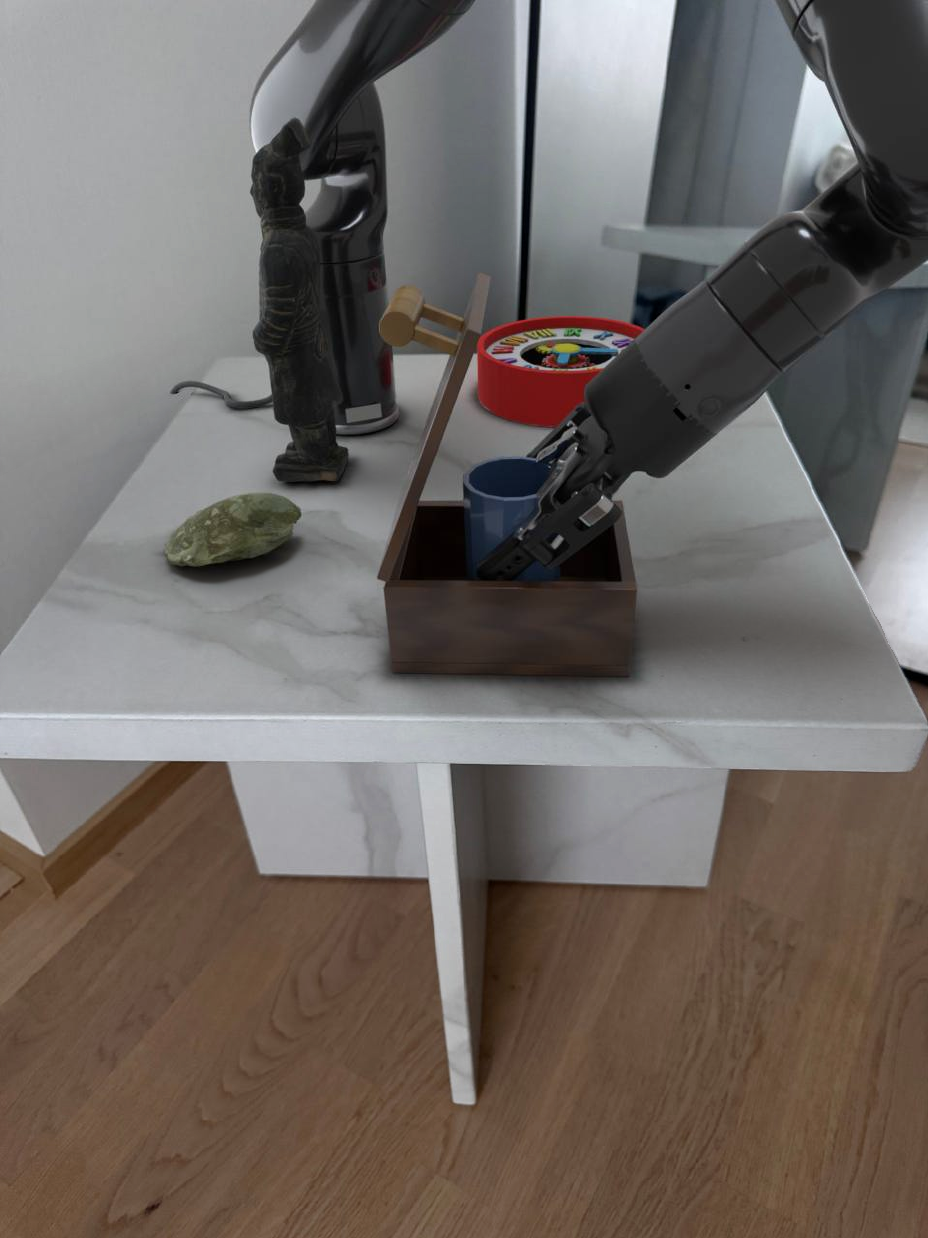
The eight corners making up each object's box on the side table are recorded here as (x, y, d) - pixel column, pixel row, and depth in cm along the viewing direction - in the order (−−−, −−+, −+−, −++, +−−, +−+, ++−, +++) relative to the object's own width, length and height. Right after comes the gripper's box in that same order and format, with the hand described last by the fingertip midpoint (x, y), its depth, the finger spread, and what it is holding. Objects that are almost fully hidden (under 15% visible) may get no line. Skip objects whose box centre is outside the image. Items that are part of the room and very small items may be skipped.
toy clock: (493, 314, 106) (660, 317, 102) (494, 361, 109) (655, 366, 105) (460, 369, 90) (656, 376, 86) (462, 423, 93) (651, 431, 89)
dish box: (616, 580, 66) (622, 500, 63) (629, 676, 57) (637, 589, 53) (413, 578, 68) (406, 500, 64) (392, 673, 58) (383, 587, 54)
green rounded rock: (162, 510, 75) (227, 429, 71) (235, 545, 79) (300, 471, 75) (161, 590, 68) (232, 506, 64) (241, 624, 73) (313, 547, 68)
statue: (292, 451, 89) (237, 114, 71) (357, 450, 88) (318, 111, 71) (268, 495, 80) (200, 128, 63) (340, 495, 80) (291, 124, 63)
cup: (455, 592, 63) (448, 466, 57) (535, 573, 65) (536, 449, 59) (488, 640, 58) (485, 508, 52) (574, 618, 60) (579, 487, 54)
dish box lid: (491, 276, 54) (411, 244, 53) (480, 333, 45) (383, 296, 44) (411, 496, 64) (342, 472, 63) (388, 583, 54) (306, 555, 53)
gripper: (629, 303, 56) (455, 471, 64) (653, 381, 44) (437, 575, 52) (702, 382, 58) (527, 534, 66) (743, 475, 47) (525, 647, 54)
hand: (488, 552), depth 59 cm, fingers closed on cup, 6 cm apart
